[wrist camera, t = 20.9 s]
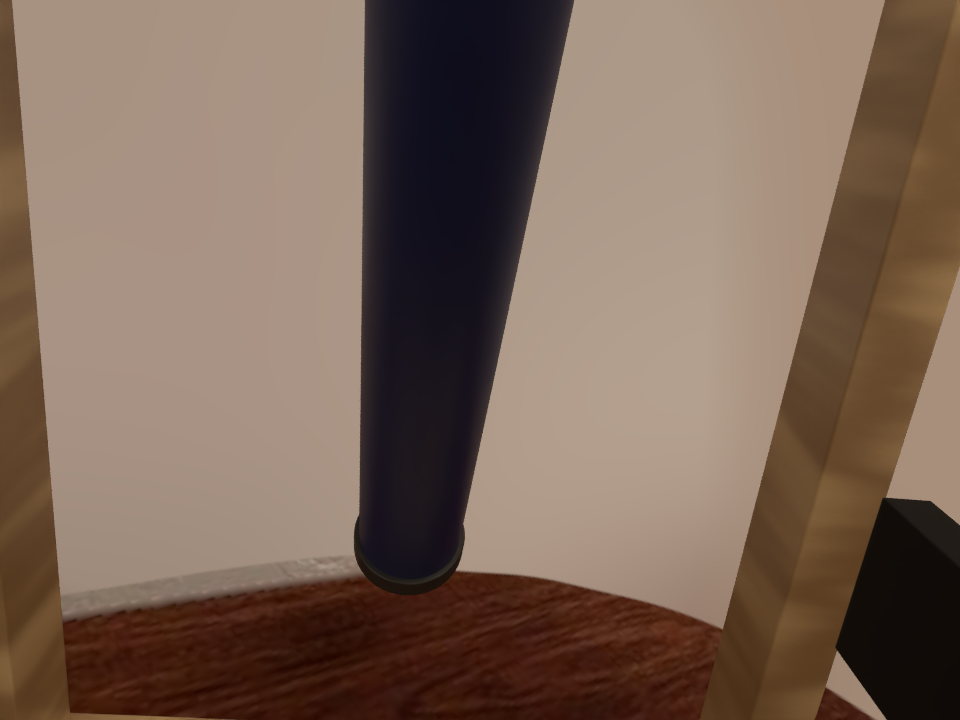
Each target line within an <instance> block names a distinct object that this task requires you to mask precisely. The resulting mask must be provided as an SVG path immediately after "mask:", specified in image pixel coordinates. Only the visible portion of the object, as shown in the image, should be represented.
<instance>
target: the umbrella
mask: <svg viewBox="0 0 960 720" xmlns="http://www.w3.org/2000/svg"><path fill="white" fill-rule="evenodd" d="M573 4H574V0H365V49H364V50H365V53H364V55H365V56H364V141H363V142H364V143H363V147H364V148H363V149H364V150H363V152H364V153H363V232H362V233H363V237H362V325H361V415H360V417H361V420H360V423H361V424H360V507H359V516H358V518H357V521H356V524H355V530H354V551H355V557H356V560H357V563H358V565H359V567H360V569H361V571H362V572H363V573H364V575H365V576H366V577H367V578H368V579H369V580H370V581H371V582H372V583H374V584H375V585H376V586H378V587H380V588H381V589H383V590H386V591H388V592H391V593H395V594H400V595H417V594H422V593H426V592H429V591H431V590H434V589H436V588H437V587H439V586H441V585H442V584H443V583H445V582H446V581H447V580H448V579H449V578H450V577H451V576H452V574H453V573H454V572H455V570H456V568H457V567H458V565H459V562H460V559H461V555H462V550H463V546H464V540H465V531H464V525H463V522H464V518H465V513H466V508H467V503H468V499H469V494H470V489H471V485H472V479H473V475H474V470H475V466H476V461H477V456H478V452H479V447H480V442H481V437H482V433H483V428H484V423H485V418H486V414H487V409H488V404H489V400H490V395H491V390H492V386H493V381H494V376H495V371H496V367H497V362H498V357H499V353H500V348H501V343H502V338H503V334H504V329H505V324H506V319H507V315H508V310H509V304H510V301H511V296H512V291H513V287H514V282H515V277H516V272H517V268H518V263H519V258H520V254H521V249H522V244H523V239H524V235H525V230H526V225H527V220H528V216H529V211H530V206H531V202H532V197H533V192H534V187H535V183H536V178H537V173H538V169H539V164H540V159H541V154H542V150H543V145H544V140H545V136H546V131H547V126H548V121H549V117H550V112H551V107H552V103H553V98H554V93H555V88H556V83H557V79H558V74H559V69H560V65H561V60H562V55H563V51H564V46H565V41H566V36H567V32H568V27H569V22H570V18H571V13H572V8H573Z"/></svg>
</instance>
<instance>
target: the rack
mask: <svg viewBox="0 0 960 720" xmlns="http://www.w3.org/2000/svg"><path fill="white" fill-rule="evenodd" d="M23 145H24V144H23V132H22V120H21V108H20V95H19V84H18V71H17V58H16V46H15V35H14V22H13V9H12V0H0V720H236V719H210V718H185V717H160V716H135V715H109V714H84V713H70V710H69V698H68V685H67V673H66V661H65V648H64V636H63V624H62V612H61V599H60V587H59V575H58V562H57V550H56V538H55V526H54V513H53V501H52V489H51V477H50V465H49V452H48V440H47V427H46V415H45V403H44V391H43V378H42V366H41V354H40V341H39V329H38V317H37V304H36V293H35V280H34V268H33V257H32V256H33V255H32V243H31V231H30V218H29V206H28V194H27V181H26V169H25V157H24V146H23ZM959 267H960V0H885V3H884V7H883V11H882V15H881V18H880V22H879V27H878V30H877V34H876V38H875V42H874V46H873V50H872V54H871V57H870V61H869V65H868V69H867V73H866V77H865V81H864V84H863V88H862V92H861V96H860V100H859V104H858V108H857V112H856V116H855V119H854V123H853V127H852V131H851V135H850V139H849V143H848V147H847V150H846V155H845V159H844V162H843V166H842V170H841V174H840V178H839V181H838V185H837V189H836V193H835V197H834V201H833V205H832V209H831V213H830V216H829V221H828V224H827V228H826V232H825V236H824V240H823V244H822V248H821V251H820V256H819V259H818V263H817V267H816V271H815V275H814V278H813V283H812V286H811V290H810V294H809V298H808V302H807V306H806V309H805V314H804V317H803V321H802V325H801V329H800V333H799V337H798V341H797V344H796V348H795V352H794V356H793V360H792V364H791V368H790V372H789V376H788V379H787V383H786V387H785V391H784V395H783V399H782V403H781V406H780V410H779V414H778V418H777V422H776V426H775V430H774V434H773V438H772V442H771V445H770V449H769V453H768V457H767V461H766V465H765V469H764V473H763V476H762V480H761V484H760V488H759V492H758V496H757V500H756V503H755V508H754V511H753V516H752V519H751V523H750V527H749V531H748V535H747V538H746V542H745V546H744V550H743V554H742V558H741V562H740V566H739V570H738V573H737V577H736V581H735V585H734V589H733V593H732V597H731V600H730V605H729V608H728V612H727V616H726V620H725V624H724V628H723V632H722V635H721V639H720V643H719V647H718V651H717V655H716V659H715V663H714V666H713V670H712V674H711V678H710V682H709V686H708V690H707V694H706V697H705V701H704V705H703V709H702V713H701V717H700V720H815V718H816V714H817V711H818V708H819V705H820V702H821V699H822V696H823V692H824V689H825V686H826V683H827V680H828V677H829V674H830V670H831V667H832V664H833V661H834V658H835V655H836V652H837V649H836V648H835V646H836V643H837V640H838V637H839V634H840V631H841V627H842V624H843V621H844V618H845V615H846V612H847V609H848V605H849V602H850V599H851V596H852V593H853V590H854V586H855V583H856V580H857V577H858V574H859V571H860V568H861V564H862V561H863V558H864V555H865V552H866V549H867V545H868V542H869V539H870V536H871V533H872V530H873V527H874V523H875V520H876V517H877V514H878V511H879V508H880V505H881V501H882V498H886V495H887V492H888V489H889V486H890V482H891V480H892V477H893V473H894V470H895V467H896V464H897V461H898V458H899V455H900V451H901V448H902V445H903V442H904V439H905V436H906V433H907V430H908V426H909V423H910V420H911V417H912V414H913V411H914V408H915V404H916V401H917V398H918V395H919V392H920V389H921V386H922V383H923V380H924V377H925V373H926V370H927V367H928V364H929V361H930V358H931V355H932V351H933V348H934V345H935V342H936V339H937V336H938V333H939V329H940V326H941V323H942V320H943V317H944V314H945V311H946V308H947V304H948V301H949V298H950V295H951V292H952V289H953V286H954V283H955V280H956V276H957V273H958V270H959Z"/></svg>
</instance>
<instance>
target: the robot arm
mask: <svg viewBox="0 0 960 720" xmlns="http://www.w3.org/2000/svg"><path fill="white" fill-rule="evenodd" d="M835 648H836V649H837V651H838V652H839V653H840V655H841V656H842V658H843V659H844V660H845V662H846V663H847V665H848V666H849V668H850V669H851V670H852V672H853V673H854V675H855V676H856V677H857V679H858V680H859V681H860V683H861V684H862V686H863V687H864V688H865V690H866V691H867V693H868V694H869V695H870V697H871V698H872V700H873V701H874V702H875V704H876V705H877V706H878V708H879V709H880V711H881V712H882V714H883V715H884V716H885V718H886V719H887V720H960V525H959V524H957V523H956V522H955V521H954V520H953V519H952V518H950V517H949V516H948V515H947V514H945V513H944V512H943V511H942V510H941V509H939V508H938V507H937V506H936V505H935V504H933V503H932V502H931V501H922V500H909V499H894V498H882V501H881V505H880V508H879V511H878V514H877V517H876V520H875V523H874V527H873V530H872V533H871V536H870V539H869V542H868V545H867V549H866V552H865V555H864V558H863V561H862V564H861V568H860V571H859V574H858V577H857V580H856V583H855V586H854V590H853V593H852V596H851V599H850V602H849V605H848V609H847V612H846V615H845V618H844V621H843V624H842V627H841V631H840V634H839V637H838V640H837V643H836V646H835Z"/></svg>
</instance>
